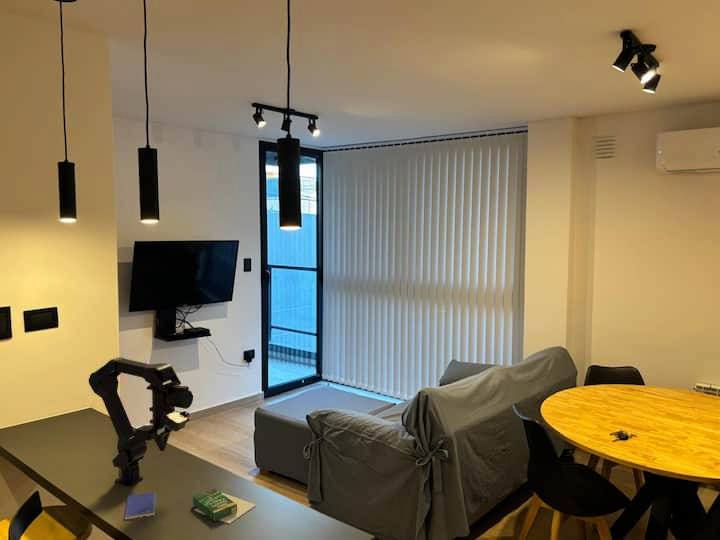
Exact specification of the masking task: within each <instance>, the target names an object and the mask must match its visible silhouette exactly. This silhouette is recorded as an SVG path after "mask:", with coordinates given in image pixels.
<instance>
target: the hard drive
mask: <svg viewBox="0 0 720 540" xmlns="http://www.w3.org/2000/svg"><path fill="white" fill-rule="evenodd" d="M126 499H127V500H126V505H125V513H124V520H131V519H139V518H144V517H143V516H146V517H151V515H153V516H155V511H156V492H150V493H149V492H148V493H141V494H132V495H128V496H127V498H126ZM138 517H139V518H138Z"/></svg>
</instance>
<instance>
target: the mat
mask: <svg viewBox="0 0 720 540" xmlns="http://www.w3.org/2000/svg"><path fill="white" fill-rule="evenodd" d="M221 493H222V494H223V495H225V496H226V497H227V498H229V499H230V500H232V501H233V502H235V503H236V504H237V512H235V513H233V514H231V515H228V516H226V517H224V518H221V519H219V520H218V521H219V522H222V521H223V523H225V524H227V523H228V524H227V525H230V524H231V523H233V522H234V521H236V520H237V519H239V518H240V517H242V516H243V515H245V514H247V513H248V512H249V511H251V510H253V509H254V508H255V507H256V506H257V504H255V503H252V502H249V501H246V500H243V499H241V498H238V497H235V496H232V495H229V494H226V493H225V492H221ZM193 510H194V511H195V512H198V513H199V514H202V515H204V516H207V515H206V514H204V513H203V512H202V511H201V510H199V509H198V508H197V507H196V508H194V509H193Z"/></svg>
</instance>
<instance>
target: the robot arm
mask: <svg viewBox="0 0 720 540" xmlns="http://www.w3.org/2000/svg"><path fill="white" fill-rule="evenodd" d="M121 374H126V375H131V376H134V377H138V378H142V379H143V380H144V381H145V382H146V383H148V384H149V385H148V386H146V390H148V391H151V400H152V401H151V404H152V405H151V407H149V412H152V413H151V414H152V415H151V416H152V419H150V420H149V424H151V425H152V426H151V425H150V426H149V425H145V424H144V425H142V426H140V427H137V428H135V429H133V425H132V424H131V421H130V419H129V417H128V415H127V412H126V410H125V407H124V405H123V403H122V400H121V398H120V395H119V392H118V388H119V379H118V377H119V376H120V375H121ZM88 384H89V386H90V388H91V390H92V391H93V393H94V394H95V395H97V396H98V397H100V398H101V400H102V402H103V404H104V406H105V409H106V411H107V413H108V416H109V418H110V421H111V423H112V425H113V428H114V430H115V434H116V435H117V439H118V440H117V447H116V448H117V452H118V454H117V455H116V456H115V457H114V458H113V459H112V465H113V467H114V468H118V478H116V479H114V482H115V483H116V484H120V485H123V486H125V487H129V486H131V485H133V484H135V483H137V482H139V481H142V480H143V479H144V476H142V475H140V463H139V461H141V460H143V459H144V457H145V455H146V454H147V450H148V447H147V444H148V442H149V441H152V440H154V442H155V443H156V446H157V447H158V449H159V451H160V452H164V451H165V450H166V447H167V443H168V440H169V438H170V435H171V433H172V432H179V431H180V430H182V429H184V428H185V427H186V424H187V423H188V422H190V412H189V411H188V410H186V409H189V408H190V407H191V406H192V404H193V401H194V394H193V392H192V390H189V388H190V387H189V386H187V385H182V382H181V381H180V378H179V377H178V375H177V373H176V372H175V370H174V367H173V366H172V365H171V364H169V363H165V362H163V363H162V362H161V363H151V364H149V363H145V362H140V361H136V360H132V359H128V358H124V357H122V356H119V357H115V358H112V359H110V360H109V361H107V363H106V364H104V365H102V367H100V368H98V369H97V370H95V371H94V372H91V373H90V374H89V378H88ZM176 408H179V409H183V411H178V410H176ZM184 409H185V410H184ZM147 441H148V442H147Z"/></svg>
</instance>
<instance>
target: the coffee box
mask: <svg viewBox="0 0 720 540" xmlns="http://www.w3.org/2000/svg"><path fill="white" fill-rule="evenodd" d="M222 493H223V492H220V491H218V490H217V489H216V488H213V489H211V490H208V491H205V492H202V493H199V494H196V495H194V496H192V505H193V506H194V507H196V508H198V509H199V510H201V511H202V512H203V513H204V514H203V515H205V514H206V515H205V516H207V517H209V518H210V519H211V520H212V521H213V522H216V521H220V520H219V519H221V518H224V517H226V516H228V515H231V514H233V513H235V512H237V504H236V503H235V502H233V501H232V500H230V499H229V498H227V497H226V496H225V495H223V494H222Z"/></svg>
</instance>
